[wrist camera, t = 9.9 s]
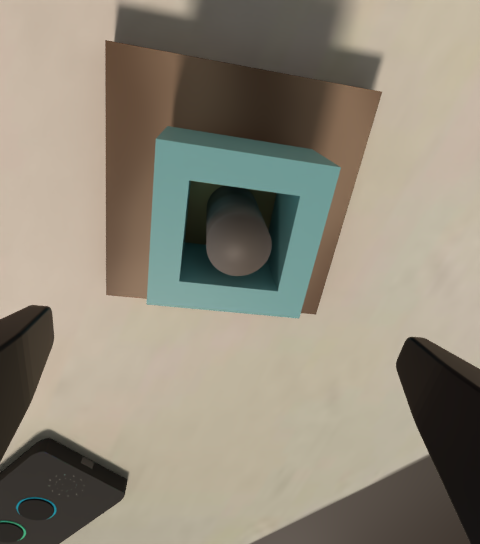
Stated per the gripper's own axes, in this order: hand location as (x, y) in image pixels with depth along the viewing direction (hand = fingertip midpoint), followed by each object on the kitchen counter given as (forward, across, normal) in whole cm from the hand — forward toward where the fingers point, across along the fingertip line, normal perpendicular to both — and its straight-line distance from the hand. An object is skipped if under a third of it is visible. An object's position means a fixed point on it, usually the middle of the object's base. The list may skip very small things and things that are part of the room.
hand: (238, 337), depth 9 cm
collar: (+9, 0, 0) cm, 9 cm away
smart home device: (+13, +14, +29) cm, 35 cm away
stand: (+12, 0, 0) cm, 12 cm away
